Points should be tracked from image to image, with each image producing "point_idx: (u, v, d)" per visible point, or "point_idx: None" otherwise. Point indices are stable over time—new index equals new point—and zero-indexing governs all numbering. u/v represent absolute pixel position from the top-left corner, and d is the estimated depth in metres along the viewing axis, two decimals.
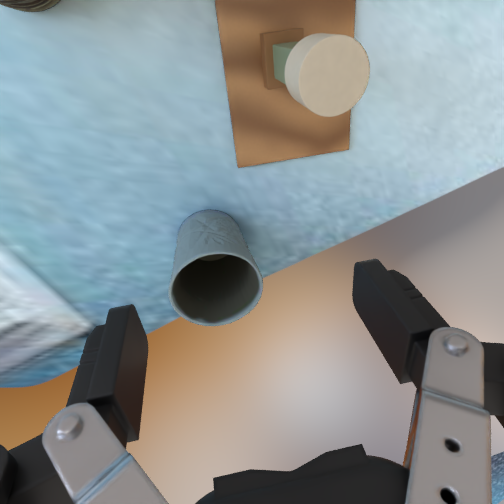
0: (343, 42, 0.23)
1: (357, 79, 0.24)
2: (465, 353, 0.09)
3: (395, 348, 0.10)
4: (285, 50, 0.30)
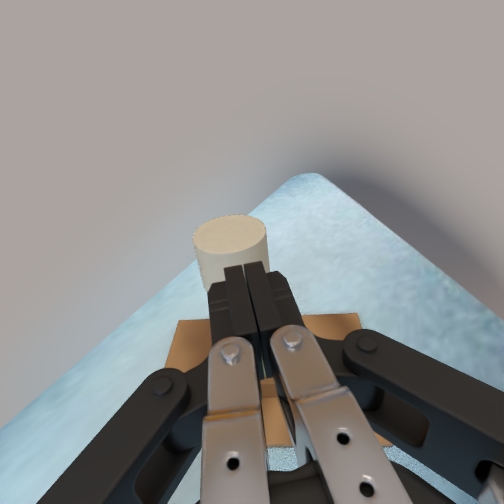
0: (201, 230, 0.24)
1: (235, 220, 0.25)
2: (296, 349, 0.09)
3: (260, 345, 0.11)
4: None
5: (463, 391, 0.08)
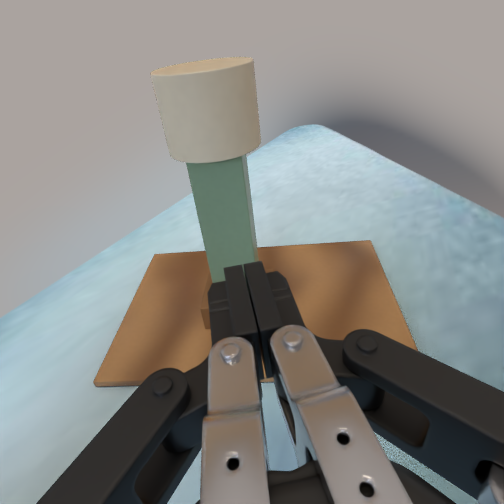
0: (164, 68, 0.18)
1: (212, 60, 0.18)
2: (296, 349, 0.09)
3: (260, 345, 0.11)
4: (204, 232, 0.21)
5: (463, 391, 0.08)
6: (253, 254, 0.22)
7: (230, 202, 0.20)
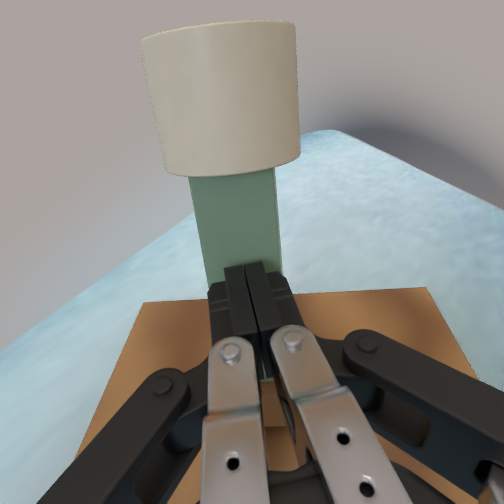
0: None
1: None
2: (296, 349, 0.09)
3: (260, 345, 0.11)
4: None
5: (463, 391, 0.08)
6: None
7: (253, 241, 0.13)
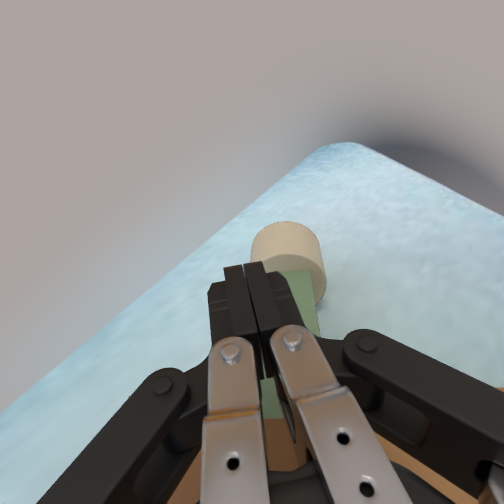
0: None
1: None
2: (296, 349, 0.09)
3: (260, 345, 0.11)
4: None
5: (463, 391, 0.08)
6: None
7: (297, 301, 0.19)
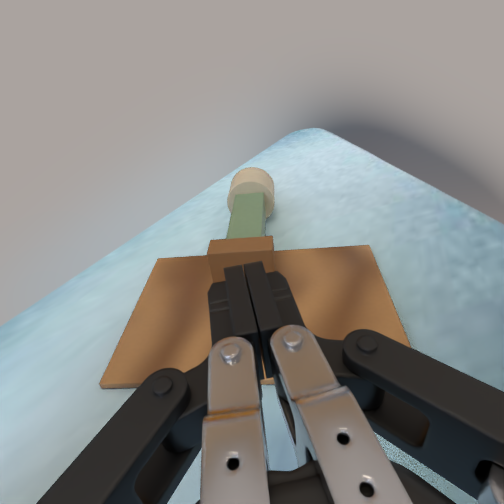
0: None
1: None
2: (296, 349, 0.09)
3: (260, 345, 0.11)
4: (232, 215, 0.33)
5: (463, 391, 0.08)
6: (261, 223, 0.31)
7: (253, 205, 0.34)
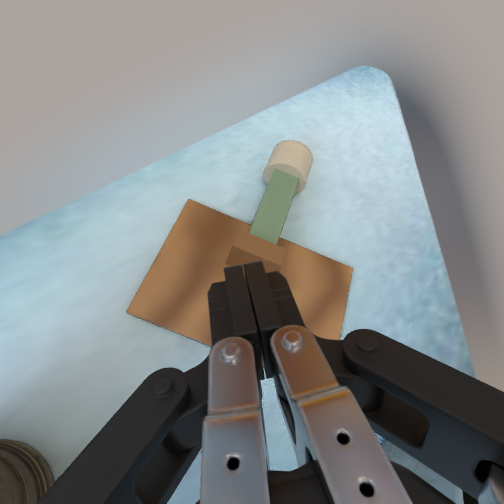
0: None
1: None
2: (296, 349, 0.09)
3: (260, 345, 0.11)
4: (264, 198, 0.37)
5: (463, 391, 0.08)
6: (284, 221, 0.36)
7: (285, 193, 0.38)
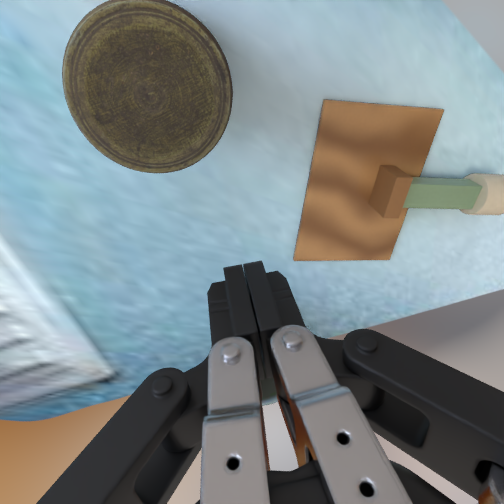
0: None
1: None
2: (296, 349, 0.09)
3: (260, 345, 0.11)
4: (448, 186, 0.41)
5: (463, 391, 0.08)
6: None
7: (455, 201, 0.42)
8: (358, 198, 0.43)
